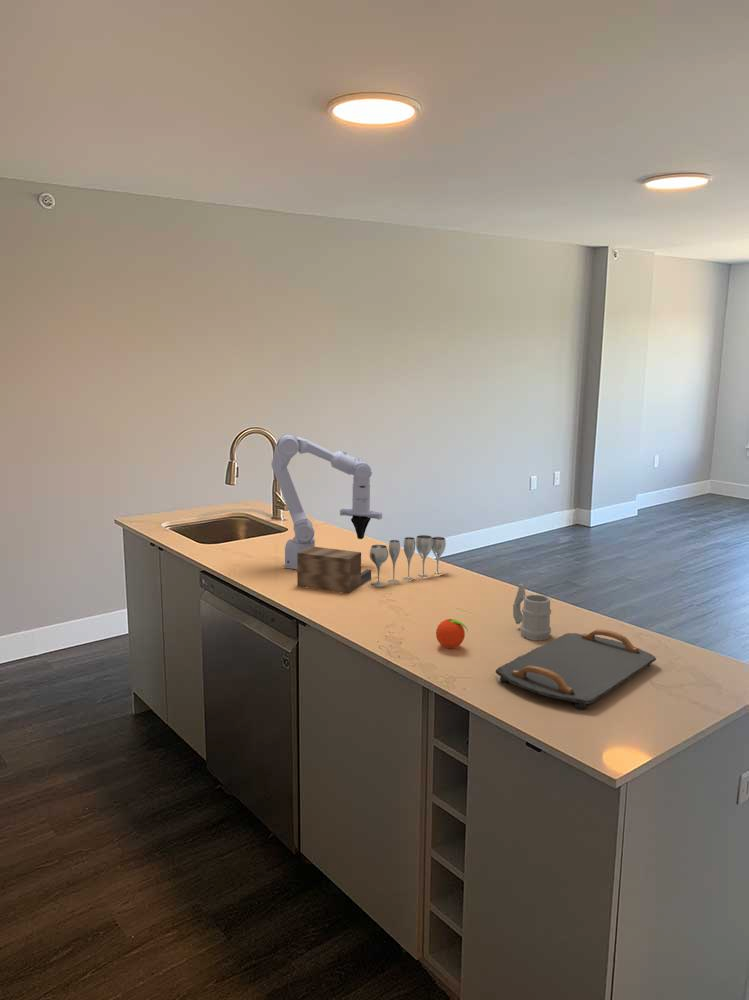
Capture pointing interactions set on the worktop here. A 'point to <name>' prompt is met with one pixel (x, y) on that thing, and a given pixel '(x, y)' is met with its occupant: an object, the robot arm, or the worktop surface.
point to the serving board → (577, 666)
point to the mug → (532, 615)
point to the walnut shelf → (330, 569)
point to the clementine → (450, 633)
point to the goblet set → (407, 553)
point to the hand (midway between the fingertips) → (360, 538)
